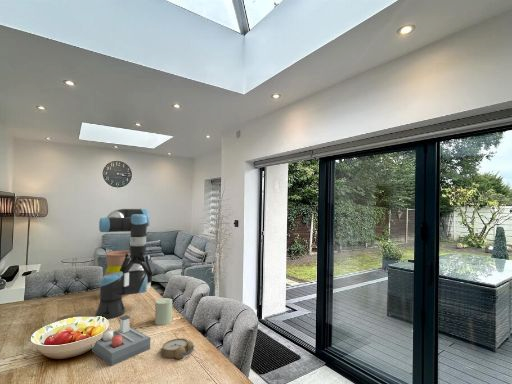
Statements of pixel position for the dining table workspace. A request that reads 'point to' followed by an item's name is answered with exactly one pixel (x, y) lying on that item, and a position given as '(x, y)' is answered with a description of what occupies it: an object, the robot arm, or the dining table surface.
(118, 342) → the button red
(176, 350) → the alarm clock
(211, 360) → the dining table surface
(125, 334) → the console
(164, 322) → the can
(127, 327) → the slider knob
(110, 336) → the button cream
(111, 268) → the vase
